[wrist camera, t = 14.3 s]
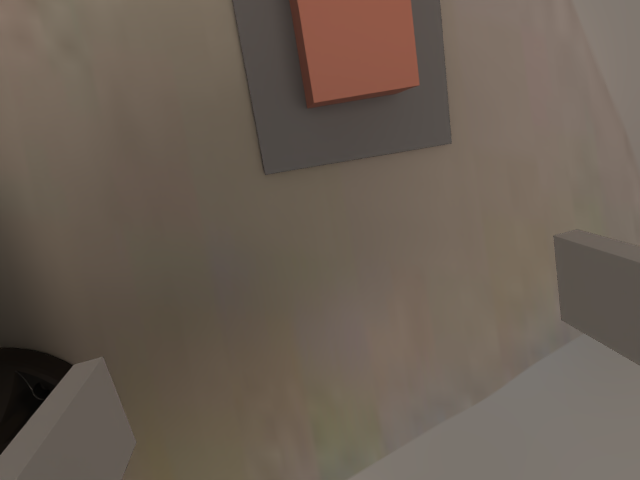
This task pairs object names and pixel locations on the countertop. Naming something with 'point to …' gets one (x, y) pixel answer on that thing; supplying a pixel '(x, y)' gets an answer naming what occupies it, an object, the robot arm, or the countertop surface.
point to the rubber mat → (343, 118)
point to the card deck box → (354, 49)
